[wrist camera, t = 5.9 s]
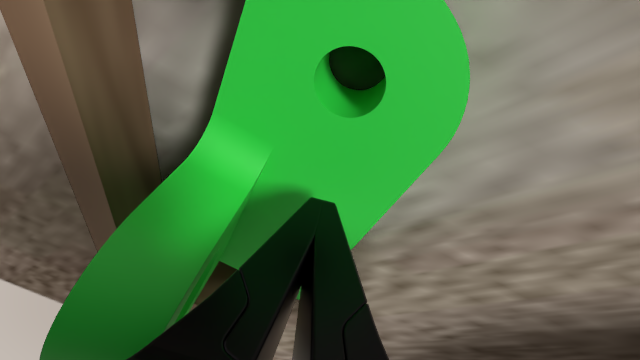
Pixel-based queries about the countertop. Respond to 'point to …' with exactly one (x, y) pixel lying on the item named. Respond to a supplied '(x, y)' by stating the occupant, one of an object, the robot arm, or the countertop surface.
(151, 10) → the countertop surface
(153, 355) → the robot arm
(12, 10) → the dock bracket
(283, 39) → the mechanical part
